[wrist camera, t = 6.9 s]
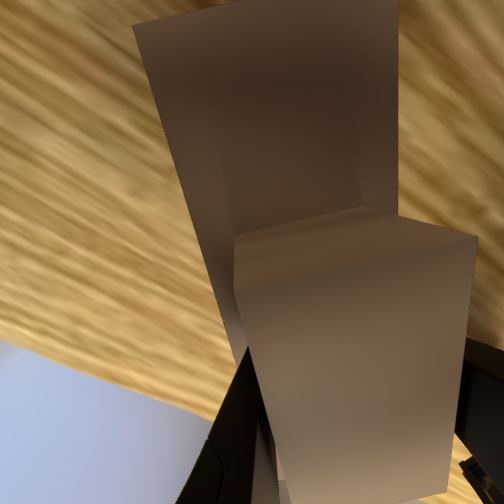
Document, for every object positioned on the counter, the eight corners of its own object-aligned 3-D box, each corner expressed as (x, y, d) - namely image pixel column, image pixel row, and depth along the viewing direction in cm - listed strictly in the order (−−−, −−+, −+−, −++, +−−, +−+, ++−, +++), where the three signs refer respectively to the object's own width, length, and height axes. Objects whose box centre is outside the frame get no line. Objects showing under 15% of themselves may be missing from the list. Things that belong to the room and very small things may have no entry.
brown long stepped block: (381, 425, 14) (467, 574, 9) (268, 450, 14) (288, 614, 9) (366, 3, 7) (688, -406, 2) (151, 53, 7) (-48, -229, 2)
